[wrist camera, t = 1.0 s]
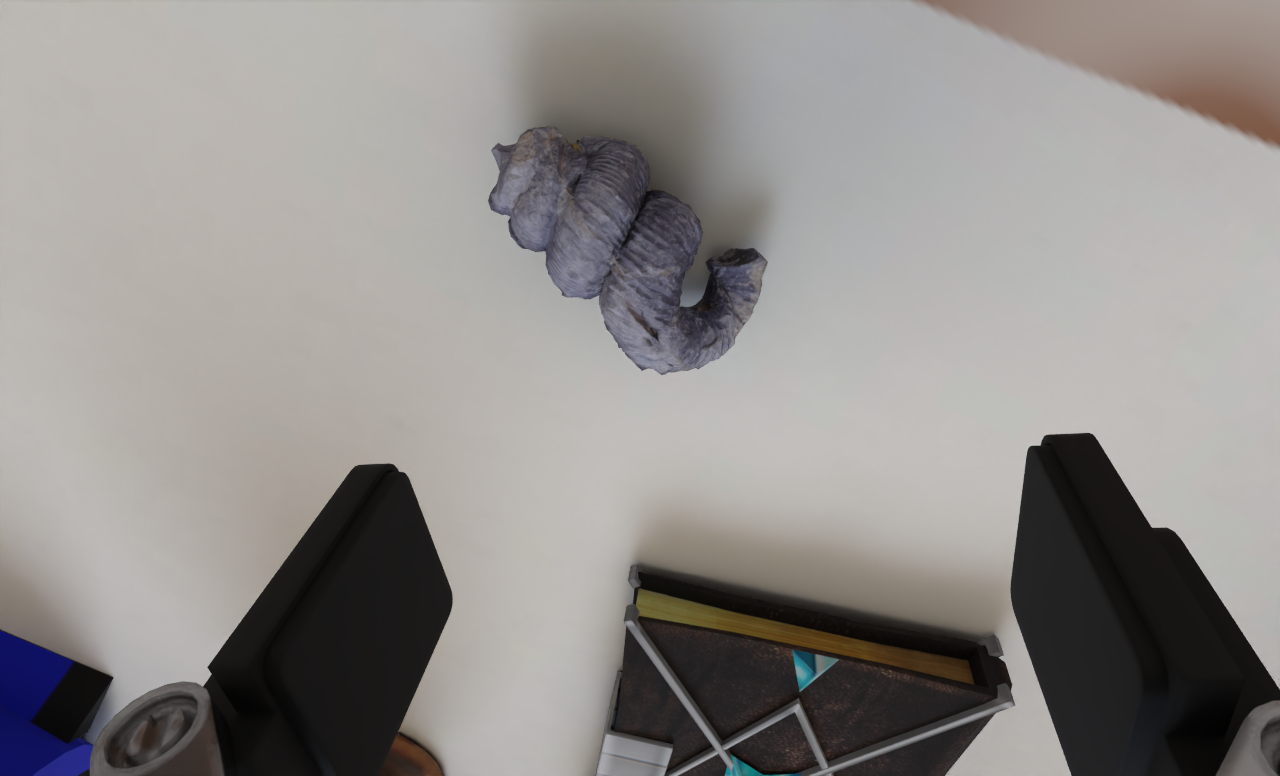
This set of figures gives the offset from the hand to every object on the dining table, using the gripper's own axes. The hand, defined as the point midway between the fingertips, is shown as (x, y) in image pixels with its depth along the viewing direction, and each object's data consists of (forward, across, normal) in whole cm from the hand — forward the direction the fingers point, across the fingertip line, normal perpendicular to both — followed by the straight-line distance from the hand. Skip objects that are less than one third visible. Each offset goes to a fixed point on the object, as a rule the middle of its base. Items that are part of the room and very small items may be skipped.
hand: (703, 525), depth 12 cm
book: (+17, +2, +29) cm, 34 cm away
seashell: (+17, +4, +1) cm, 17 cm away
